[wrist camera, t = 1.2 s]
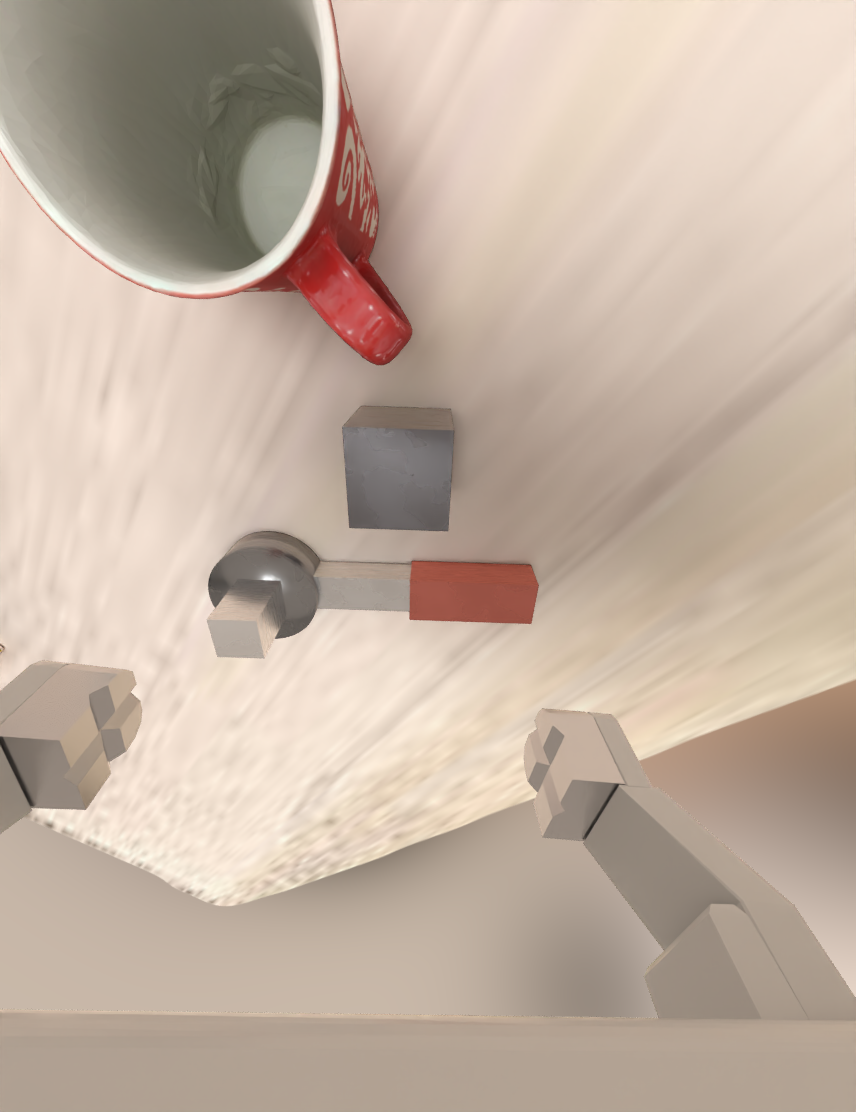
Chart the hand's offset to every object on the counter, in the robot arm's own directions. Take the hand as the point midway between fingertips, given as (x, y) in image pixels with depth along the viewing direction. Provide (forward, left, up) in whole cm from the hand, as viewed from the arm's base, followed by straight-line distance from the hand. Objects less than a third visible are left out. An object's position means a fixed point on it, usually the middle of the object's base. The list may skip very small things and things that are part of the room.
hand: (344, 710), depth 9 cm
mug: (+4, -11, -22) cm, 24 cm away
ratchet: (+2, +10, -21) cm, 24 cm away
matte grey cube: (0, 0, -21) cm, 21 cm away
